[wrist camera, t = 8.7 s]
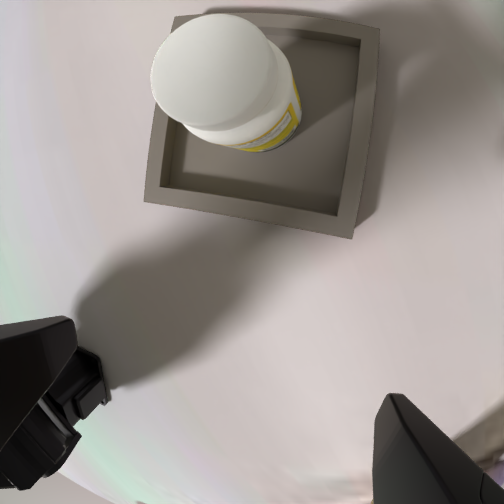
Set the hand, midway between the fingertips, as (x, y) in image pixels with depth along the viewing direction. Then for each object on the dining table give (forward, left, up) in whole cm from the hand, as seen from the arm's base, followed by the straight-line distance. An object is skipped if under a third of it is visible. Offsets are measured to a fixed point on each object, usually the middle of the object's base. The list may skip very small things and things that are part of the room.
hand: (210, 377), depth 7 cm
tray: (-2, +8, -12) cm, 14 cm away
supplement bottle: (-2, +8, -11) cm, 14 cm away
